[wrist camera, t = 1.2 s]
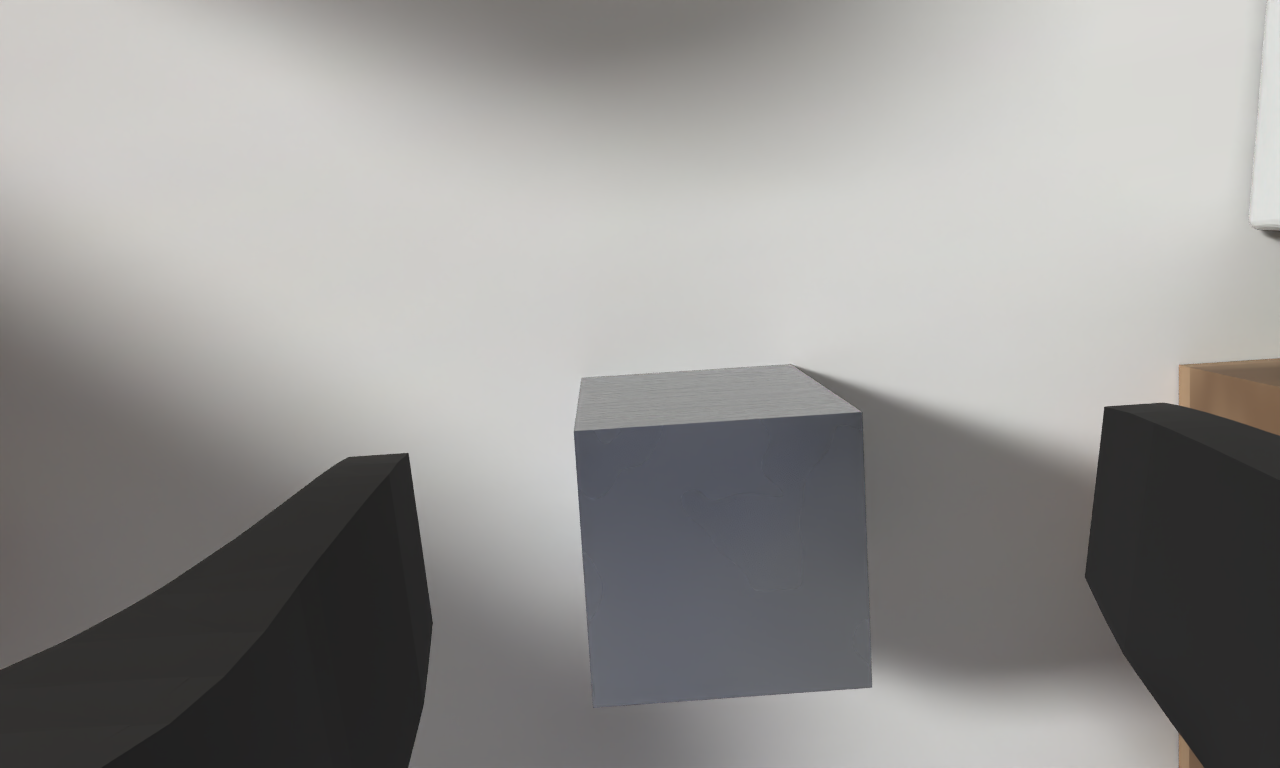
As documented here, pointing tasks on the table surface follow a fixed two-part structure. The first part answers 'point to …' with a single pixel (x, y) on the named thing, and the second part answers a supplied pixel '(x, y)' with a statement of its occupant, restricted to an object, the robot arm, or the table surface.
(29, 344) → the table surface
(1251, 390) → the well block
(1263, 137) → the skincare box
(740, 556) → the tall grey block
